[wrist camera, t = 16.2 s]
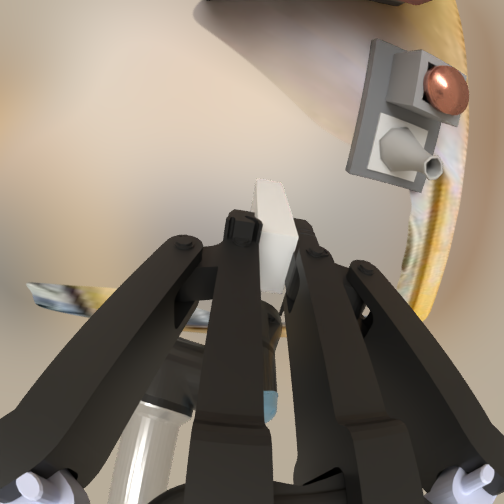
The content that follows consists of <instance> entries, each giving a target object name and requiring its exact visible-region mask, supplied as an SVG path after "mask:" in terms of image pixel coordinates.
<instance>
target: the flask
mask: <svg viewBox="0 0 504 504" xmlns="http://www.w3.org/2000/svg"><path fill="white" fill-rule="evenodd" d="M379 142H380V156H381V159H382V161H383V162H384V163H385V164H386V166H387V167H388V168H389V170H390V171H391V172H395V171H417V172H421V173H423V174H425V176H426V177H427V179H428V180H435V179H437V178H438V177H439V176H440V175H441V174H442V173H443V163H442V161H441V159H440V157H439V156H438V155H434V156H433V155H431V154H429V153H428V152H427V151H426V150H425V149H424V148H423V147H422V146H421V145H420V143H419V142H418V141H417V139H416V138H415V136H414V135H413V134H412V132H411V131H410V130H409V128H408V127H402V128H391V129H390V130H389V131H388V132H387V133H386V134H385V135H384V136H383V137H382V138H381V139H380V140H379Z"/></svg>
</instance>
